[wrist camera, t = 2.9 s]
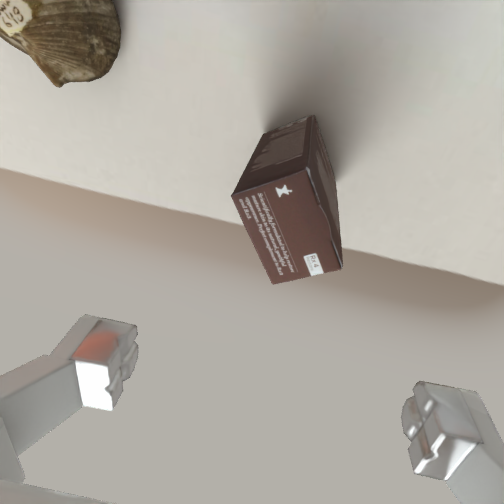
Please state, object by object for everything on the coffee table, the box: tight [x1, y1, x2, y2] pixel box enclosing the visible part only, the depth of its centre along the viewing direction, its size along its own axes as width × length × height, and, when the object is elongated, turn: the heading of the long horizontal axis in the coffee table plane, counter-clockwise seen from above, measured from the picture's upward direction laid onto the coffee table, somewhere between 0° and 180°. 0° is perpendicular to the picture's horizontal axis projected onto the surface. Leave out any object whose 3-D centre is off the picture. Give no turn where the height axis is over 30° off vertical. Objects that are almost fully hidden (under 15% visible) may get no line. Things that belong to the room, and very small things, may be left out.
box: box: [231, 115, 343, 284], centre depth 23 cm, size 6×4×12 cm
